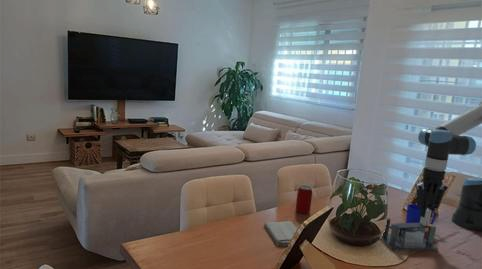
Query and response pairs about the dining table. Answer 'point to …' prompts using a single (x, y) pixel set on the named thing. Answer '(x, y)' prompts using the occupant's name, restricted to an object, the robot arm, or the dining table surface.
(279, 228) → the washcloth
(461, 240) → the dining table surface
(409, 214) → the mug
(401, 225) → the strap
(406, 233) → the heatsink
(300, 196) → the beverage can
